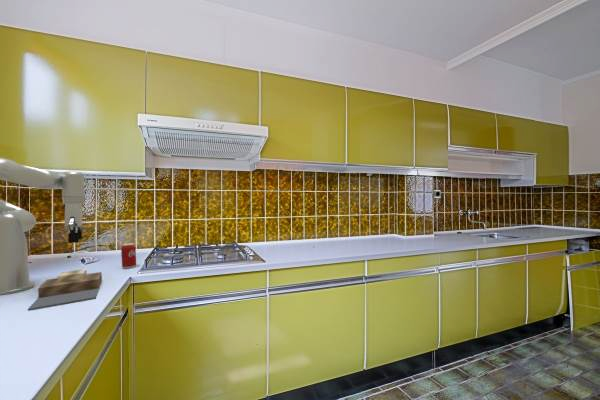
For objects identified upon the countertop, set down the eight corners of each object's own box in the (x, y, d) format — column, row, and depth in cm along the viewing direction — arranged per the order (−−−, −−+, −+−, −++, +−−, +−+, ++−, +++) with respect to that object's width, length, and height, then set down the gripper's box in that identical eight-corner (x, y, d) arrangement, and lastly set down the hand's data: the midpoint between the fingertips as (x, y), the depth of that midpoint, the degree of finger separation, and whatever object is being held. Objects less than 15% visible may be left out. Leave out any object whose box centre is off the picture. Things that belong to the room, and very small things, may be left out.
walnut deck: (38, 298, 103) (38, 288, 102) (47, 289, 113) (46, 279, 113) (98, 289, 112) (98, 279, 112) (101, 281, 122) (101, 272, 122)
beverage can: (134, 268, 142) (133, 244, 142) (120, 269, 141) (119, 245, 140) (137, 265, 148) (136, 242, 148) (124, 266, 147) (123, 243, 146)
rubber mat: (28, 310, 92) (28, 308, 92) (37, 299, 102) (37, 298, 102) (95, 298, 101) (95, 297, 101) (98, 289, 111) (98, 288, 111)
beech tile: (58, 283, 108) (57, 276, 108) (62, 278, 114) (61, 272, 114) (84, 279, 112) (83, 273, 112) (86, 274, 118) (86, 269, 118)
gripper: (66, 200, 126) (68, 239, 127) (58, 201, 111) (59, 245, 112) (87, 200, 130) (89, 237, 131) (81, 200, 115) (83, 243, 116)
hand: (75, 240), depth 121 cm, fingers open, 8 cm apart
